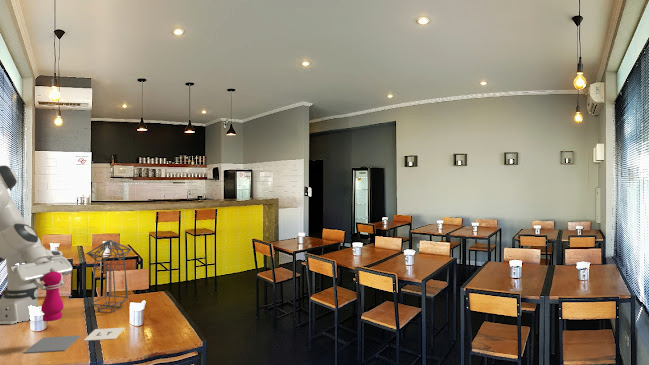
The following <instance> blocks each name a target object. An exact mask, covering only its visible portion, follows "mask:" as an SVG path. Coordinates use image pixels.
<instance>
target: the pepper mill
mask: <svg viewBox="0 0 649 365" xmlns="http://www.w3.org/2000/svg"><path fill="white" fill-rule="evenodd" d="M61 279H62V280H63V278H62V276H61V274H60V273H59V272H55V268H51V269H50V272H49V273H47V274H45V275H44V277H43V281H42V283H43V284H46V286H47V289H46V290H45V297H44V300H43V301H42V304H41V307H40V308H41V309H40V312H41V313H43V314H42V321H44V322H54V321H58V320H61V319H62V318H63V309H64V307H65V306H64V302H63V300H62V297H61V295H60V287H61V286H60V283H59V282H60V281H61Z"/></svg>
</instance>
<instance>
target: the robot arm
mask: <svg viewBox="0 0 649 365" xmlns="http://www.w3.org/2000/svg"><path fill="white" fill-rule="evenodd" d="M16 184H18V181H17V174H16V172H15V171H14V170H13V169H12V168H10V167H9V166H7V165H0V264H2V262H4V261H5V262H6V270H7V286H6V287H7V288H6V289H4V290H3V291H1V292H0V295H1V296H2V295H3V296H2V298H0V324H11V325H15V324H14V323H16V324H18V323H17V322H19V323H22V321H23V322H27V321H30V320H29V309H28V306H30V305H32V306H36V307H38V306H39V307H40V305H39V289H40V290H41V291H46V289H47V286H46V284H45V283H44V282H43V277H44V275H45V274H47V273H49V272H50V269H51V268H55V272H59V273H60V274H61V276H62V279H61V281H60V282H59V283H60V287H62V286H63V285H64V284H65V282H64V280H63V277H66V276H69V275H70V274H71V273H72V271H73V266H72V264H71V262H70V261H69V260H68V259H67V258H66V257H64V256H63V252H62V251H60V250H51V249H47V248H46V247H45V246H43V244H42V241H41V239H40V238H39V235H38V234H37V232H36V231H35V230H34V229H33V228H32V227H31V226H30V225H29V224H28V223H27V221H26V220H25V218H24V217H23V216H22V214H21V212H20V210H19V208H18V207H17V205H16V203H15V201H14V200H13V198H12V197H11V196H10V193H9V191H12V189H13V188H15V186H16ZM8 189H9V190H8Z"/></svg>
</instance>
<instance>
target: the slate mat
mask: <svg viewBox="0 0 649 365" xmlns="http://www.w3.org/2000/svg"><path fill="white" fill-rule="evenodd" d="M79 338H81V335H67V336H49V337H47V336H46V337H41V339H39V340H38V341H37V342H35V343H34V344H32V345H31V346H29V347H28V348H27V349H26V350H24V351H23V352H22V354H23V353H24V354H36V353H38V352H39V353H50V352H52V353H53V352H65V351H67V350H68V349H69V348H70V347H71V346H72V345H73V344H74V343H75V342H76V341H77V340H79Z"/></svg>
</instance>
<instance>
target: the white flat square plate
mask: <svg viewBox="0 0 649 365" xmlns="http://www.w3.org/2000/svg"><path fill="white" fill-rule="evenodd" d="M124 330H125V327H113V328H112V327H111V328H110V327H109V328H95V329H94V330H92V332H90V333H89V335H87V336H86V337H85V338H84V339H83V340H82V341H84V342H86V341H103V340H104V341H105V340H116V339H117V338H118V336H119V335H120V334H121V333H122V332H123V331H124Z"/></svg>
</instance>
